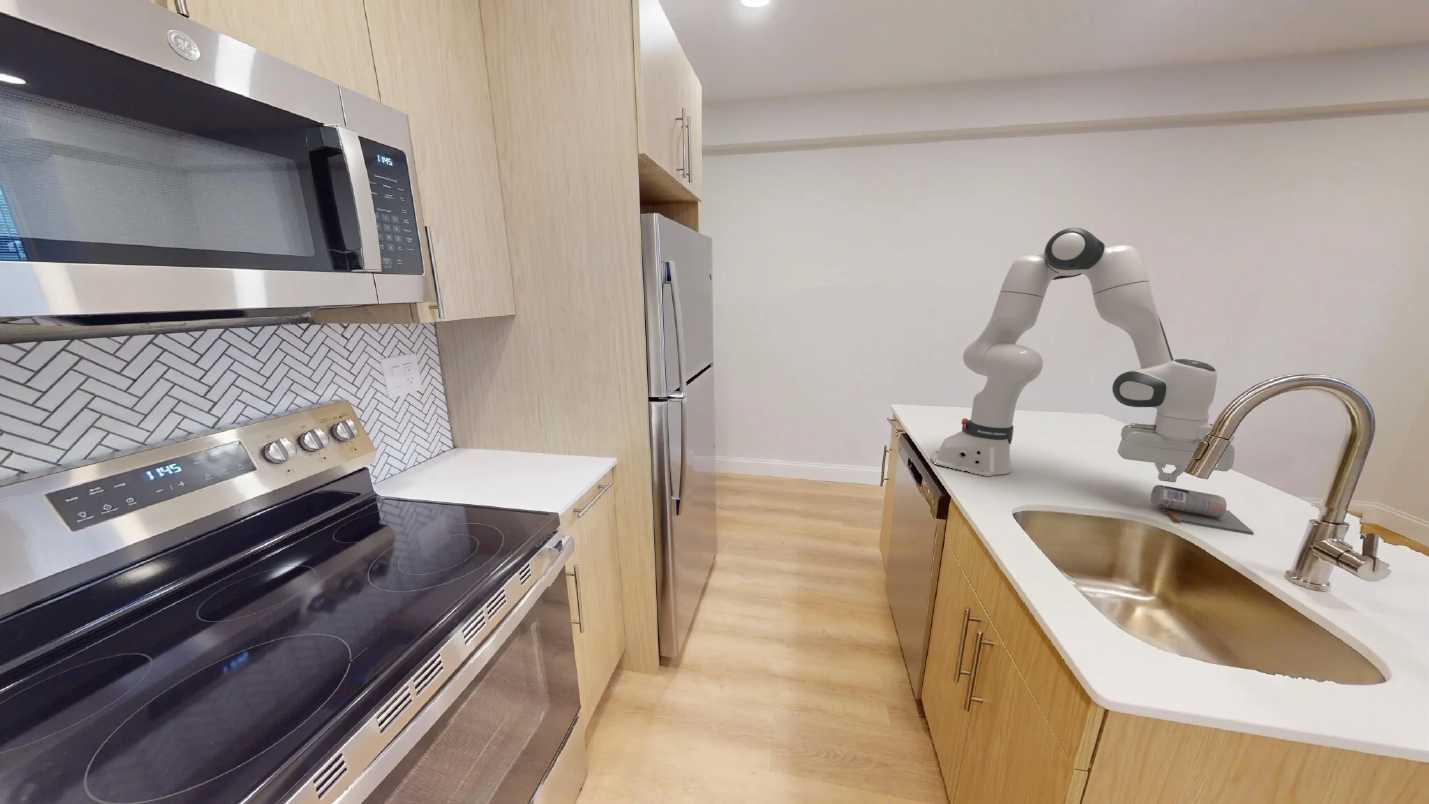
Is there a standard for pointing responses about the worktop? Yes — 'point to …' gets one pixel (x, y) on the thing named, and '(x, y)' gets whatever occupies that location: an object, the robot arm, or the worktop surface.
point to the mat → (1215, 521)
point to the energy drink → (1188, 501)
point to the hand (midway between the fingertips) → (1166, 480)
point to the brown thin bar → (1172, 515)
